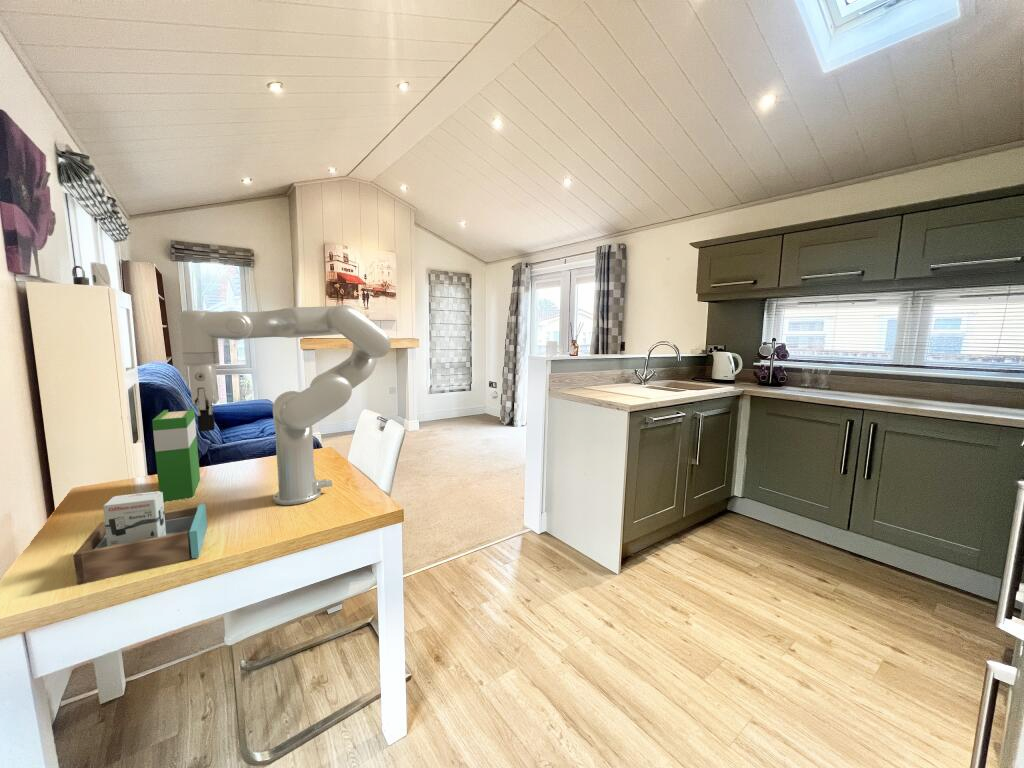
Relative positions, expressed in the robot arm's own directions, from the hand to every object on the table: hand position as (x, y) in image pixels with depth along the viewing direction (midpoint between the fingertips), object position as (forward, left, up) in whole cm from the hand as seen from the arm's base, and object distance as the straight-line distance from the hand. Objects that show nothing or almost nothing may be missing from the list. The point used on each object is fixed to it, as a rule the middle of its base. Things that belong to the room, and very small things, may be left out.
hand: (206, 430), depth 104 cm
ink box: (+12, +16, -22) cm, 30 cm away
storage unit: (+10, +16, -23) cm, 30 cm away
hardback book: (+10, -26, -23) cm, 36 cm away
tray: (+10, +16, -23) cm, 30 cm away
